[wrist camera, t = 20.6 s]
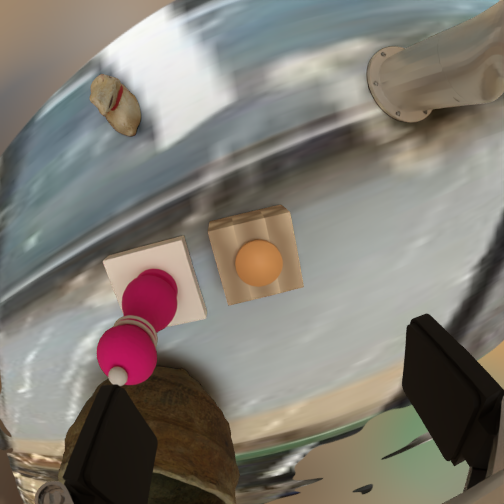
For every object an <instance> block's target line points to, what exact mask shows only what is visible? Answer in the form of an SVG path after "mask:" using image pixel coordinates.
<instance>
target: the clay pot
mask: <svg viewBox="0 0 504 504" xmlns="http://www.w3.org/2000/svg"><path fill="white" fill-rule="evenodd" d="M103 385H113V384H112V383H111V382H110V380H109V379H107V380H105V381H104V382H102V383H101V384H100V385H99V386H98V387H97V389H96V390H95V392H94V393H93V395H92V397H91V398H90V399H89V400H88V401H87V402H86V403H85V405H84V407H83V408H82V410H81V412H80V413H79V415H78V417H77V419H76V420H75V423H74V424H73V425H72V426H71V427H70V428H69V430H68V432H67V435H66V438H65V452H64V454H63V460H62V463H61V466H60V469H59V473H58V480H59V482H61V483H62V484H64V482H65V480H64V479H63V475H64V472H65V470H66V467H67V465H68V462H69V459H70V457H71V454H72V452H73V449H74V447H75V444H76V442H77V439H78V437H79V435H80V432H81V430H82V427H83V425H84V423H85V420H86V418H87V416H88V413H89V411H90V409H91V407H92V404H93V402H94V400H95V398H96V395H97V393H98V391H99V389H100V387H101V386H103ZM120 387H121V388H124V389H125V390H126V392H127V393H128V395H129V397H130V398H131V400H132V401H133V403H134V404H135V406H136V408H137V409H138V411H139V412H140V414H141V415H142V417H143V418H144V420H145V421H146V423H147V424H148V425H149V427H150V428H151V430H152V431H153V433H154V434H155V436H156V437H157V441H158V446H157V451H156V457H155V462H154V468H153V473H152V479H151V485H150V491H149V497H148V504H236V498H235V488H236V485H237V483H238V480H239V476H240V474H239V470H238V467H237V464H236V460H235V452H234V447H233V443H232V439H231V430H230V426H229V423H228V421H227V420H226V419H225V417H224V415H223V412H222V411H221V409H220V408H219V407H218V406H217V405H216V403H215V402H214V400H213V399H212V398H211V397H210V396H209V395H208V393H207V392H206V391H205V390H204V389H203V388H202V387H201V384H200V383H199V382H197V381H196V380H195V379H193V378H192V377H191V376H190V375H188V373H187V371H186V370H184V369H183V368H180V369H173V368H168V367H159V366H157V367H155V369H154V371H153V373H152V374H151V376H150V377H149V378H148V379H147V380H145V381H144V382H142V383H139V384H136V385H125V384H124V385H122V386H120Z"/></svg>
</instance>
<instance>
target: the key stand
mask: <svg viewBox="0 0 504 504" xmlns="http://www.w3.org/2000/svg"><path fill="white" fill-rule="evenodd" d="M208 235H209V238H210V242H211V246H212V249H213V253H214V257H215V260H216V264H217V267H218V271H219V275H220V278H221V282H222V285H223V289H224V292H225V296H226V299H227V303H228V306H229V305H233V304H237V303H241V302H246V301H250V300H254V299H258V298H262V297H266V296H270V295H274V294H278V293H282V292H286V291H290V290H294V289H298V288H302V287H304V285H303V280H302V274H301V268H300V263H299V257H298V252H297V246H296V241H295V236H294V230H293V225H292V220H291V215H290V212H289V211H288V210H287V209H286V208H284V207H283V206H282V205H277V206H272V207H268V208H264V209H259V210H255V211H251V212H247V213H242V214H238V215H234V216H230V217H226V218H222V219H218V220H214V221H210V223H209V228H208ZM253 240H266V241H269V242H270V243H272V244H274V245H275V246H276V247H277V249H278V250H279V252H280V254H281V256H282V260H283V267H282V271H281V273H280V275H279V276H278V278H277V279H276V280H275V281H273V282H272V283H270V284H268V285H266V286H261V287H256V286H251V285H248V284H246V283H245V282H243V281H242V280H241V279H240V277H239V276H238V274H237V271H236V266H235V259H236V255H237V253H238V251H239V250H240V248H241V247H242V246H243V245H245V244H246V243H248V242H250V241H253Z"/></svg>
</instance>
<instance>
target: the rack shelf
mask: <svg viewBox="0 0 504 504" xmlns="http://www.w3.org/2000/svg"><path fill="white" fill-rule="evenodd" d="M103 263H104V266H105V269H106V271H107V274H108V277H109V279H110V282H111V285H112V287H113V290H114V292H115V295H116V297H117V300H118V302H119V305H120V307H121V310H122V296H123V293H124V291H125V289H126V287H127V285H128V284H129V283H130V282H131V281H132V280H134V279H135V278H137V277H138V276H139V274H140V273H142V272H143V271H145V270H148V269H160V270H163V271H165V272H167V273H168V274H170V275H171V276H172V277H173V279H174V280H175V282H176V285H177V289H178V294H177V304H178V305H177V311H176V314H175V316H174V318H173V320H172V321H171V322H170V323H169V325H168V326H173V325H178V324H183V323H188V322H193V321H197V320H202V319H206V315H207V309H206V306H205V303H204V300H203V297H202V294H201V291H200V287H199V284H198V281H197V278H196V275H195V271H194V268H193V265H192V261H191V258H190V255H189V251H188V248H187V244H186V241H185V238H184V236H180V237H176V238H172V239H168V240H164V241H161V242H157V243H153V244H149V245H146V246H142V247H138V248H134V249H131V250H127V251H123V252H120V253H116V254H113V255H109V256H108V257H107V258H106V259H104V260H103ZM122 312H123V310H122ZM168 326H167V327H168Z"/></svg>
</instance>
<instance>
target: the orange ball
mask: <svg viewBox="0 0 504 504" xmlns="http://www.w3.org/2000/svg"><path fill="white" fill-rule="evenodd" d="M235 266H236V271H237V274H238V276H239V277H240V279H241V280H242V281H243V282H245V283H246V284H248V285H251V286H256V287H261V286H266V285H268V284H270V283H272V282H273V281H275V280H276V279H277V278H278V276H279V275H280V273H281V271H282V267H283V260H282V256H281V254H280V252H279V250H278V249H277V247H276V246H275V245H274V244H272V243H270V242H269V241H266V240H253V241H250V242H248V243H246V244H245V245H243V246H242V247H241V248H240V250H239V251H238V253H237V255H236V259H235Z"/></svg>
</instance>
